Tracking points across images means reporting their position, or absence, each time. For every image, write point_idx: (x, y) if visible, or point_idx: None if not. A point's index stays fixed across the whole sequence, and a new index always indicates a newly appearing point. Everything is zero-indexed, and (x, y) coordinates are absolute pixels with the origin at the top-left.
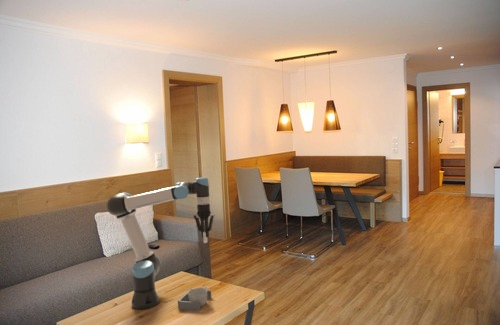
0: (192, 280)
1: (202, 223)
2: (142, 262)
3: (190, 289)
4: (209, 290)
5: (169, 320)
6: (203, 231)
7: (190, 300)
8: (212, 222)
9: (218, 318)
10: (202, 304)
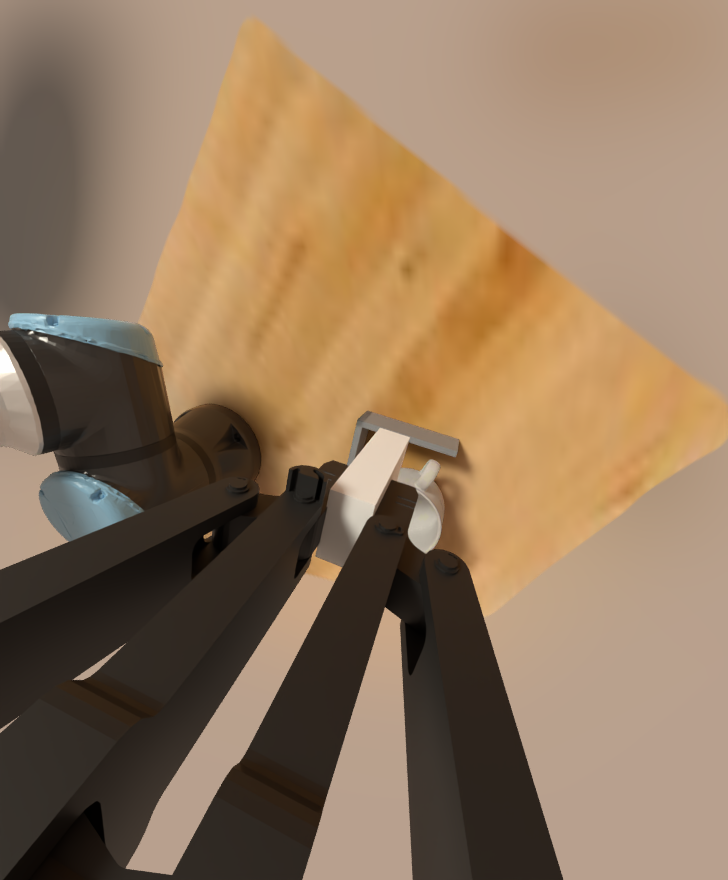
0: (337, 187)
1: (209, 709)
2: (62, 500)
3: (358, 424)
4: (450, 453)
5: (332, 580)
6: (316, 545)
7: None
8: (528, 791)
9: (491, 611)
10: (426, 525)
